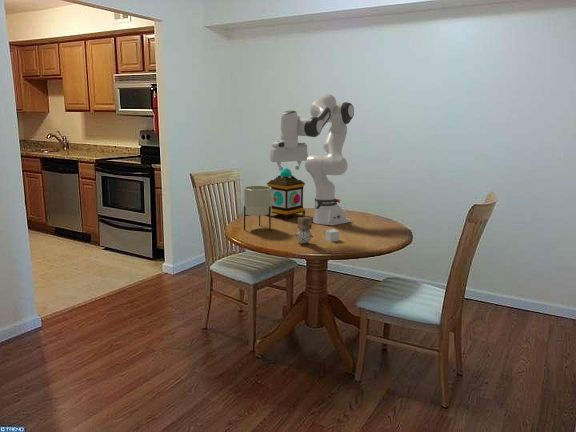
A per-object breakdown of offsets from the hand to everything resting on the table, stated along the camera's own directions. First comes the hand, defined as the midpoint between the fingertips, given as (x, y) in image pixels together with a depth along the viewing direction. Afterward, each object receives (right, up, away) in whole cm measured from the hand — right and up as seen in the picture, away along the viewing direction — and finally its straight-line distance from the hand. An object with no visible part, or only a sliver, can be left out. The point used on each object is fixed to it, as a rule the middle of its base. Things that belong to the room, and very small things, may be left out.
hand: (289, 170), depth 241 cm
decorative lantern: (-2, -24, +48) cm, 54 cm away
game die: (+7, -38, -13) cm, 40 cm away
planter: (-17, -31, +16) cm, 39 cm away
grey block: (+22, -36, -6) cm, 43 cm away
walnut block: (+7, -30, -14) cm, 34 cm away
